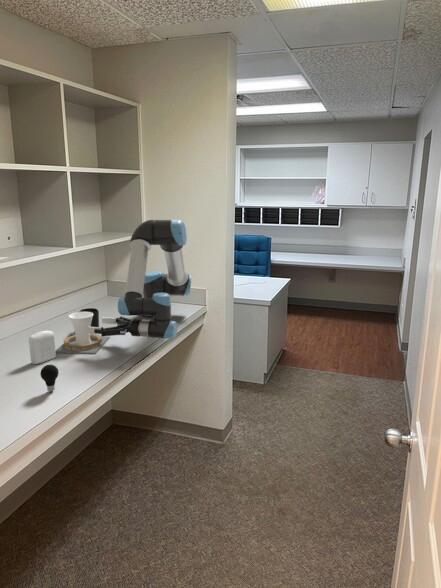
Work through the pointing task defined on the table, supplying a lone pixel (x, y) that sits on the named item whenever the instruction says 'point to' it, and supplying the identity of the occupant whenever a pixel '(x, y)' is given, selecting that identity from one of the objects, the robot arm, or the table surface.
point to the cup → (81, 326)
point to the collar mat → (89, 351)
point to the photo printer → (42, 347)
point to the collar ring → (85, 346)
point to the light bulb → (49, 376)
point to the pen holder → (95, 316)
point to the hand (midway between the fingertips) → (95, 324)
